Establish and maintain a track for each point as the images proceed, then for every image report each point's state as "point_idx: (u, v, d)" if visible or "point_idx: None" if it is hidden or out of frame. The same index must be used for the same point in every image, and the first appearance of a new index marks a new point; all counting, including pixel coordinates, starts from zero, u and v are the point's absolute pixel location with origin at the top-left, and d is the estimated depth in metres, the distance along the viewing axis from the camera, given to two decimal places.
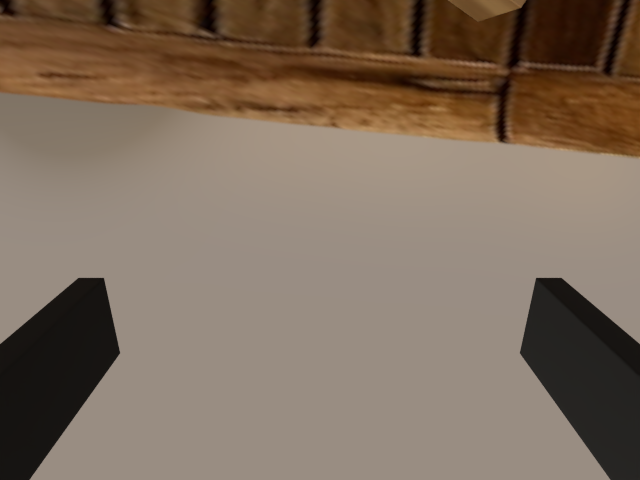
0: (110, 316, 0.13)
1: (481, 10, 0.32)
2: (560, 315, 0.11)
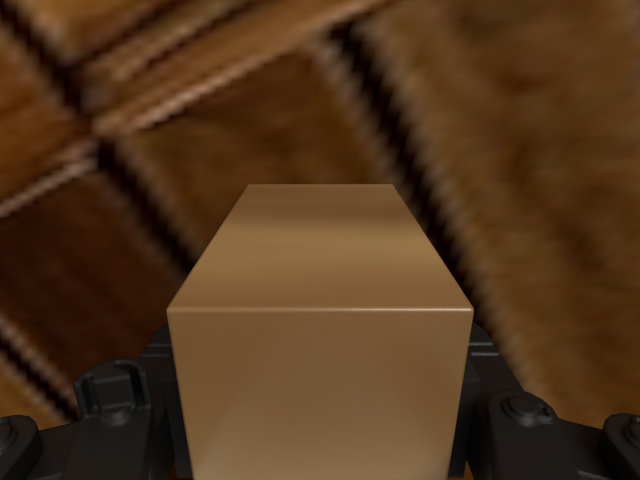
0: None
1: (265, 210, 0.11)
2: None
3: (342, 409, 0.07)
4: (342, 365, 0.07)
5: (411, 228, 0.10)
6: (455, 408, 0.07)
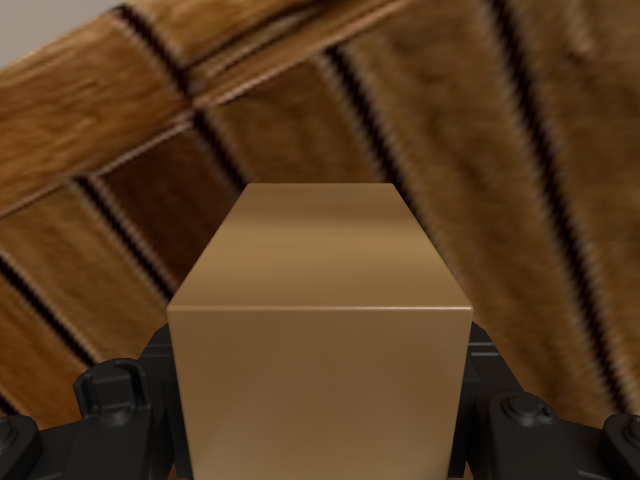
0: None
1: (265, 209, 0.11)
2: None
3: (342, 408, 0.07)
4: (342, 364, 0.07)
5: (411, 227, 0.10)
6: (455, 407, 0.07)
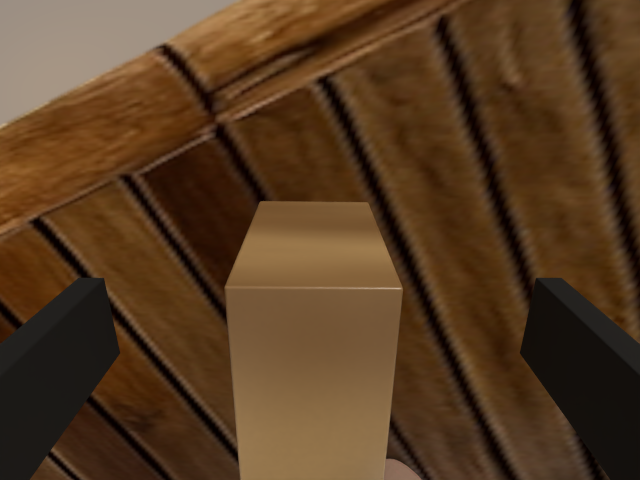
0: (110, 316, 0.13)
1: (275, 223, 0.16)
2: (560, 315, 0.11)
3: (327, 349, 0.12)
4: (326, 321, 0.12)
5: (375, 238, 0.15)
6: (394, 348, 0.12)
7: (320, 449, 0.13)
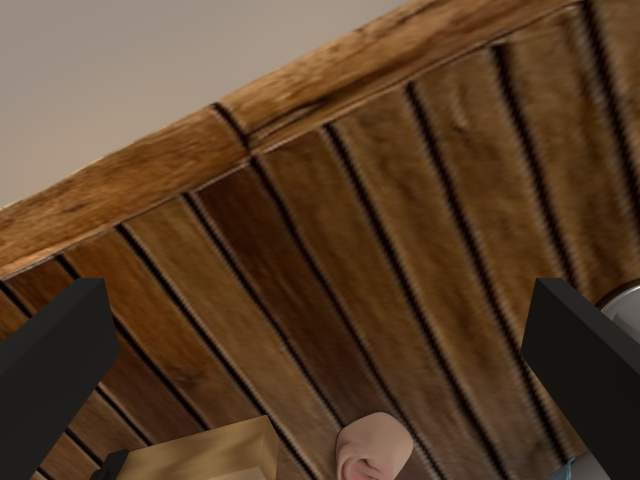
0: (110, 316, 0.13)
1: (266, 437, 0.54)
2: (560, 315, 0.11)
3: None
4: None
5: (276, 466, 0.54)
6: None
7: None
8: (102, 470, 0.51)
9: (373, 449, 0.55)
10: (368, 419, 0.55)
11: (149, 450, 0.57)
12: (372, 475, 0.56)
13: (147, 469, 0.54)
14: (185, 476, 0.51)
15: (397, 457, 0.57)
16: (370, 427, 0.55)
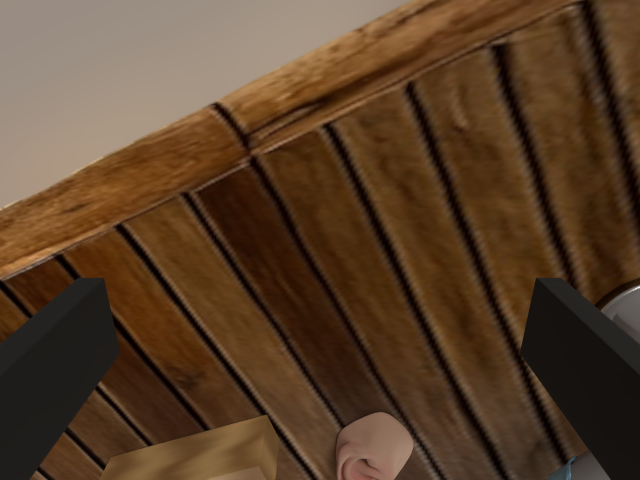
0: (110, 316, 0.13)
1: (266, 437, 0.54)
2: (560, 315, 0.11)
3: None
4: None
5: (276, 466, 0.54)
6: None
7: None
8: None
9: (373, 449, 0.55)
10: (368, 419, 0.55)
11: (149, 450, 0.57)
12: (372, 475, 0.56)
13: (147, 469, 0.54)
14: (185, 476, 0.51)
15: (397, 457, 0.57)
16: (370, 427, 0.55)
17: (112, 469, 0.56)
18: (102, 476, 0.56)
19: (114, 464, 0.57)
